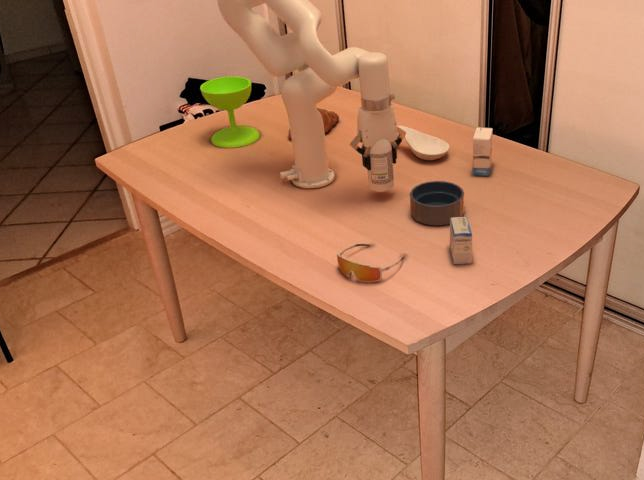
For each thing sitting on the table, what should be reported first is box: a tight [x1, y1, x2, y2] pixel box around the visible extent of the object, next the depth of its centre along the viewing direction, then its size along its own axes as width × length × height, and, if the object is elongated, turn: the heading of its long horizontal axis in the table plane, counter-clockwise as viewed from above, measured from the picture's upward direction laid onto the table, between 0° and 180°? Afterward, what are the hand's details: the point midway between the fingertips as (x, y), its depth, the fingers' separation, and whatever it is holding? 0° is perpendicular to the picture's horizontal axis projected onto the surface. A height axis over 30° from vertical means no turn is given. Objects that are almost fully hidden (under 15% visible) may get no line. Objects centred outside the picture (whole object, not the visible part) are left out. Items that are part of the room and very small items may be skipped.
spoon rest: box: [397, 125, 451, 161], centre depth 219 cm, size 24×12×7 cm, turn 56°
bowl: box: [409, 180, 465, 226], centre depth 188 cm, size 14×14×6 cm
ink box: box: [472, 126, 494, 177], centre depth 207 cm, size 9×5×12 cm, turn 168°
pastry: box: [288, 107, 340, 141], centre depth 236 cm, size 17×15×8 cm
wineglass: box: [199, 76, 261, 149], centre depth 230 cm, size 16×16×18 cm
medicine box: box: [449, 216, 473, 265], centre depth 170 cm, size 8×4×9 cm, turn 5°
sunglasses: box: [336, 242, 405, 283], centre depth 169 cm, size 14×15×5 cm
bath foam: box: [367, 139, 395, 193], centre depth 191 cm, size 7×7×20 cm
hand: (380, 164), depth 192 cm, fingers closed on bath foam, 6 cm apart
